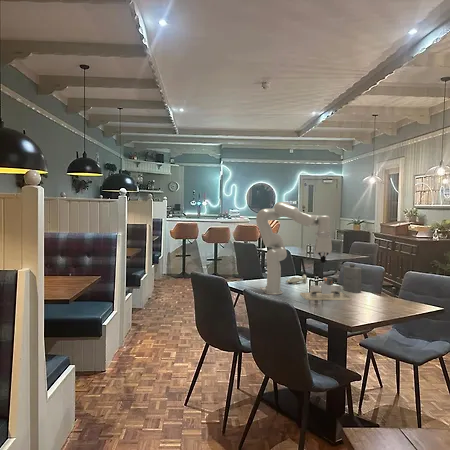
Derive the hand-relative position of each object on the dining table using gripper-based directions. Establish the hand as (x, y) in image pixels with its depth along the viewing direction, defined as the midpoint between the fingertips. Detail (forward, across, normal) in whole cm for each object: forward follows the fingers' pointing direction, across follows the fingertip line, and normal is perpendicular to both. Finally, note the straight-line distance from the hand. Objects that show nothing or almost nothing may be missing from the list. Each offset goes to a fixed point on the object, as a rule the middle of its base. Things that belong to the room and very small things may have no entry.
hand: (322, 262), depth 278 cm
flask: (+25, +31, +31) cm, 51 cm away
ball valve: (+25, +5, +10) cm, 27 cm away
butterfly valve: (+25, -4, +60) cm, 65 cm away
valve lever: (+14, +5, +5) cm, 16 cm away
